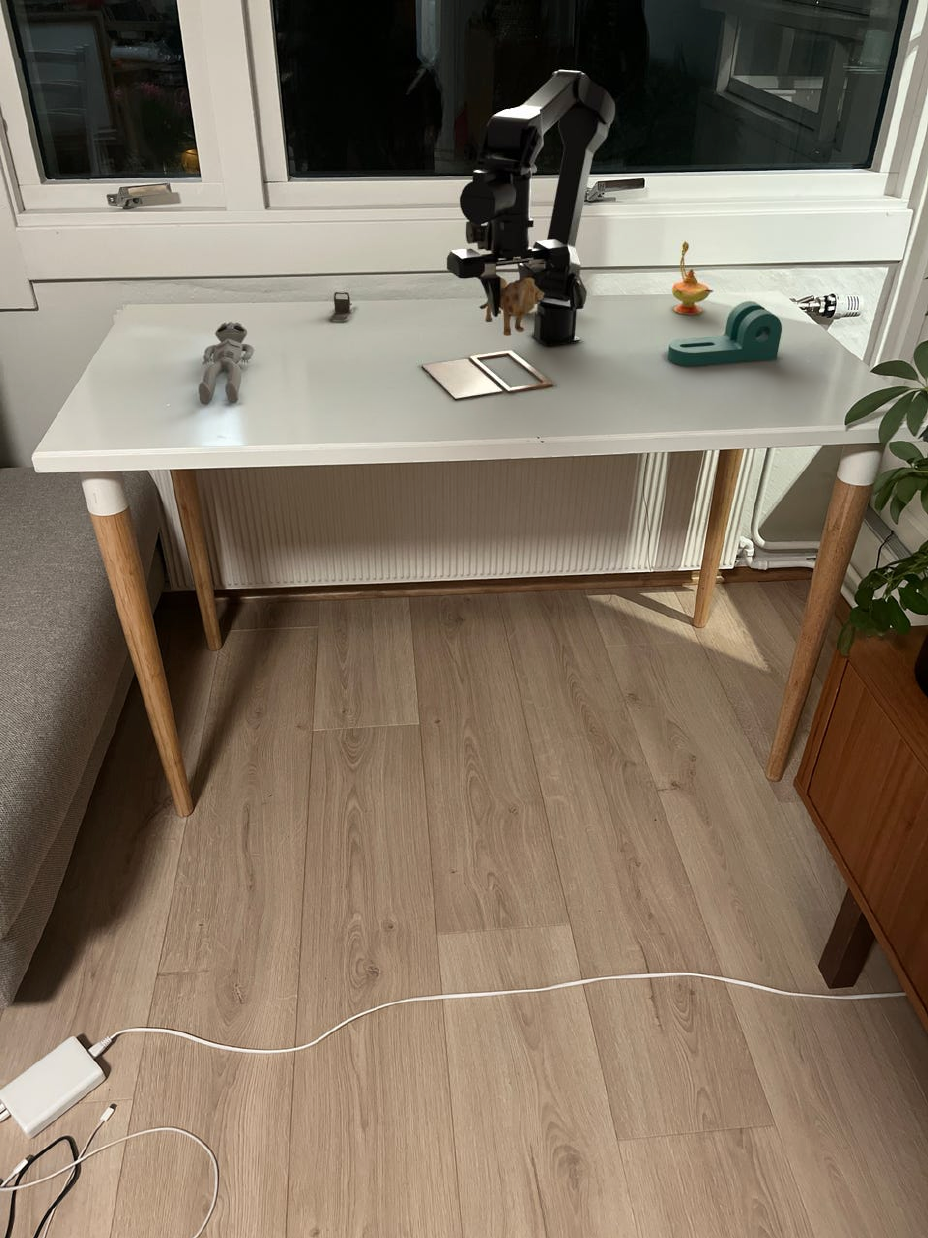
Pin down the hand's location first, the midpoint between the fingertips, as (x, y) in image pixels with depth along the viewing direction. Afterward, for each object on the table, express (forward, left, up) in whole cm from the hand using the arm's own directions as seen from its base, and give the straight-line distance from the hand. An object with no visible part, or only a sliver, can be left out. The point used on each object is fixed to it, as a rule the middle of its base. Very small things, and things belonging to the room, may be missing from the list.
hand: (508, 314), depth 152 cm
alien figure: (+42, -16, -10) cm, 46 cm away
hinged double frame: (+3, 0, -10) cm, 10 cm away
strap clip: (+16, -38, -10) cm, 43 cm away
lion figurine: (0, 0, -2) cm, 2 cm away
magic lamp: (-45, -14, -10) cm, 48 cm away
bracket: (-37, +7, -10) cm, 38 cm away
